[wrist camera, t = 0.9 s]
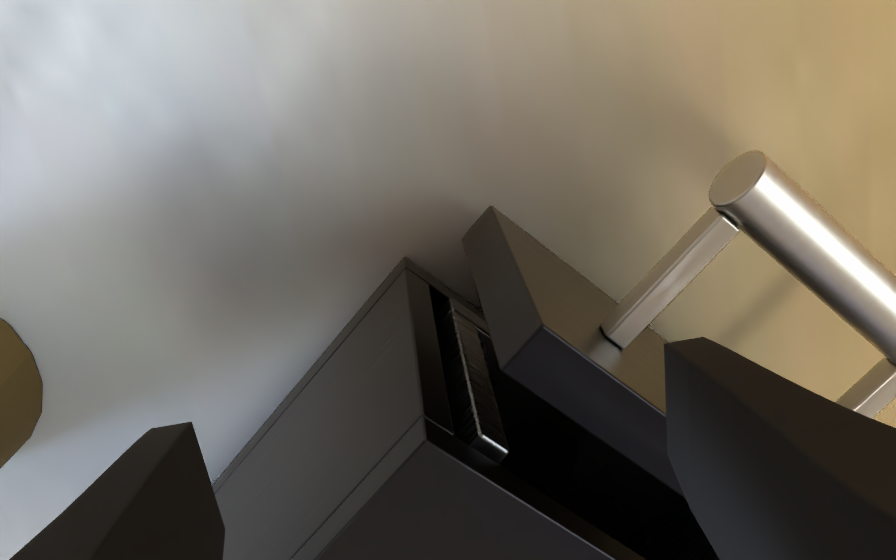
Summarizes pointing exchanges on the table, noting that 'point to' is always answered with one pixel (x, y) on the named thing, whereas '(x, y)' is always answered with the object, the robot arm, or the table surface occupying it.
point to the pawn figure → (17, 393)
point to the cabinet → (387, 459)
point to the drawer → (631, 353)
